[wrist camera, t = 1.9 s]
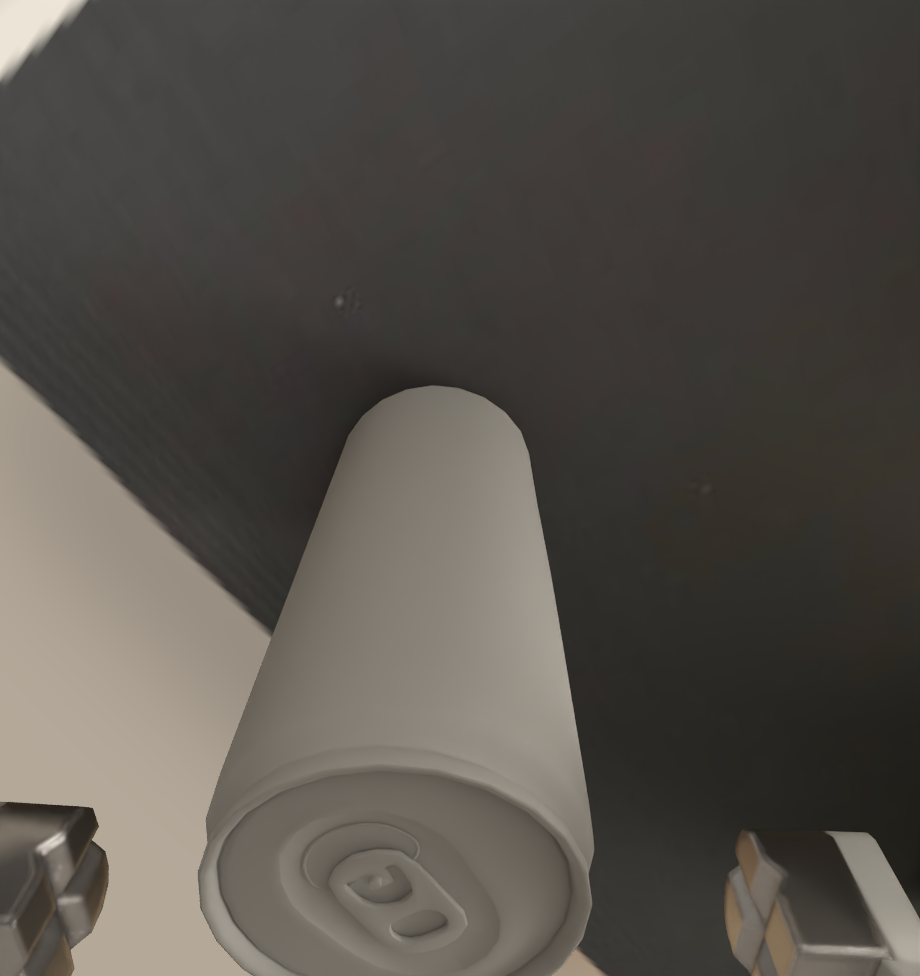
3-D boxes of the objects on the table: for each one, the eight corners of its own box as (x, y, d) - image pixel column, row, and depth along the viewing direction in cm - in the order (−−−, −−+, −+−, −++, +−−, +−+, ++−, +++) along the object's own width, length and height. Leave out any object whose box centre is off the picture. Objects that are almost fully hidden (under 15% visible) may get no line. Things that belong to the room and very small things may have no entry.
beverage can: (468, 340, 18) (463, 684, 7) (566, 495, 20) (675, 955, 9) (305, 439, 19) (93, 858, 9) (411, 576, 21) (345, 1067, 10)
